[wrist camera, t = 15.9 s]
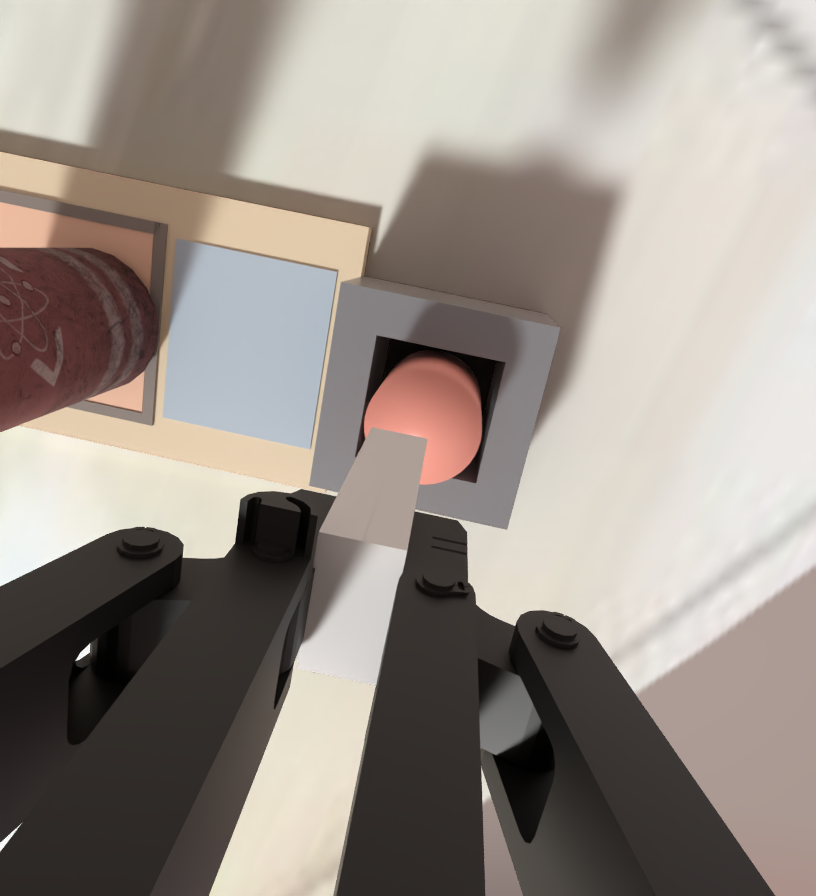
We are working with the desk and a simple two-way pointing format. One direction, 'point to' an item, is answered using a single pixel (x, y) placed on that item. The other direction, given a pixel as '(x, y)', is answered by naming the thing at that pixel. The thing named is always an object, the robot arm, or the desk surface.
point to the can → (68, 329)
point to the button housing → (450, 328)
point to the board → (200, 314)
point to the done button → (431, 410)
